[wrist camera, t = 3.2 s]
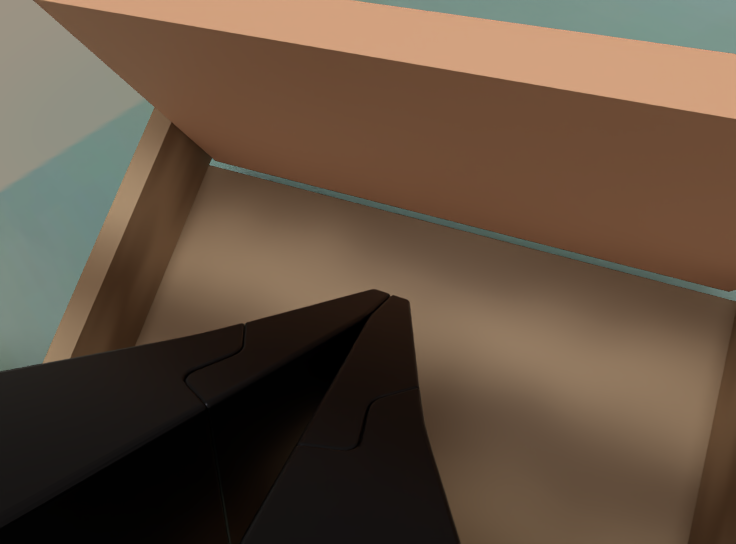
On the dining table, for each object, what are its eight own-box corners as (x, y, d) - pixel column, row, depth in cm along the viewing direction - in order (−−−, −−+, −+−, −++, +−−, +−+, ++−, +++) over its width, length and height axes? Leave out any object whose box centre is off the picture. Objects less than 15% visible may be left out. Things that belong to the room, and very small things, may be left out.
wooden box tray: (624, 701, 16) (812, 1067, 8) (125, 464, 22) (-88, 523, 13) (713, 291, 19) (933, 223, 10) (241, 170, 24) (124, 59, 16)
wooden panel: (728, 291, 15) (1104, 182, 6) (215, 160, 20) (31, -2, 11) (735, 258, 15) (1112, 107, 6) (225, 136, 20) (51, -42, 11)
